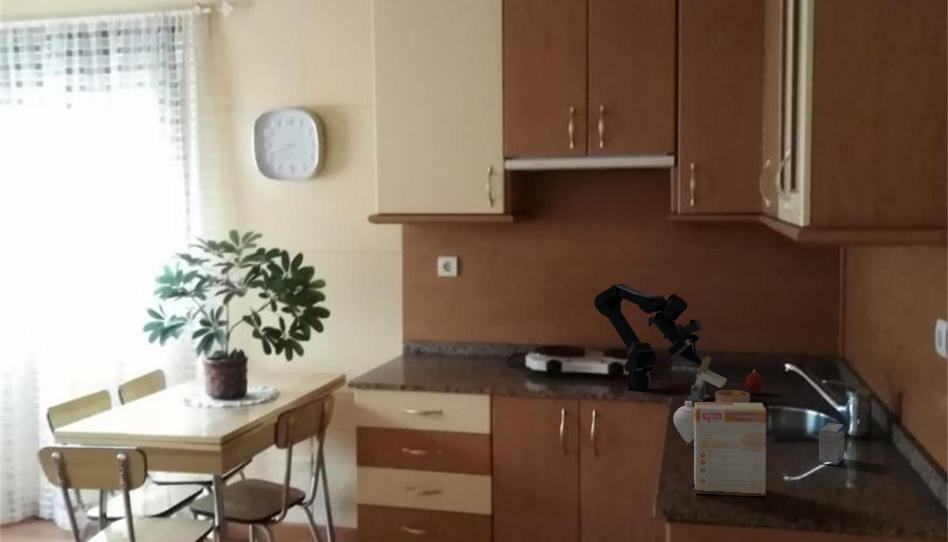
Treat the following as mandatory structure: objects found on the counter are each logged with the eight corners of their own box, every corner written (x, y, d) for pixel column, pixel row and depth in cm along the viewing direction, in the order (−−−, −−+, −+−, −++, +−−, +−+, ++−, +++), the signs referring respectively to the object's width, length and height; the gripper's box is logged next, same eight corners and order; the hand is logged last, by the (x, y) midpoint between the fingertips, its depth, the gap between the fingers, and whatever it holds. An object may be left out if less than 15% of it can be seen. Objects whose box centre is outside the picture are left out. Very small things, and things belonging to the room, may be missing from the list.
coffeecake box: (761, 487, 209) (762, 402, 208) (766, 498, 202) (767, 409, 201) (693, 485, 212) (693, 400, 210) (695, 495, 205) (696, 407, 203)
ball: (733, 404, 292) (727, 395, 293) (736, 402, 295) (730, 392, 296) (742, 399, 290) (736, 389, 291) (745, 397, 293) (739, 387, 294)
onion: (764, 396, 303) (764, 371, 302) (745, 395, 304) (746, 371, 303) (762, 392, 309) (762, 368, 308) (744, 391, 310) (744, 368, 309)
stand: (686, 400, 297) (686, 385, 297) (693, 396, 304) (694, 380, 304) (702, 402, 295) (702, 386, 294) (709, 397, 302) (709, 382, 301)
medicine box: (837, 466, 225) (838, 431, 224) (818, 464, 227) (819, 429, 226) (844, 458, 231) (845, 424, 231) (825, 456, 234) (826, 422, 233)
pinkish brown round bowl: (711, 404, 292) (711, 394, 292) (720, 398, 301) (720, 388, 301) (744, 407, 287) (744, 398, 287) (752, 401, 296) (752, 391, 296)
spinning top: (667, 444, 246) (667, 399, 245) (691, 441, 249) (691, 396, 248) (684, 451, 239) (685, 405, 238) (709, 448, 242) (709, 402, 241)
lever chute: (691, 388, 297) (703, 358, 295) (696, 384, 302) (708, 356, 300) (715, 399, 294) (727, 369, 291) (720, 395, 299) (732, 366, 296)
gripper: (677, 314, 291) (712, 352, 286) (695, 308, 307) (728, 343, 302) (653, 338, 296) (686, 375, 291) (671, 330, 312) (704, 365, 307)
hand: (702, 364), depth 298 cm, fingers closed, pressing on lever chute
